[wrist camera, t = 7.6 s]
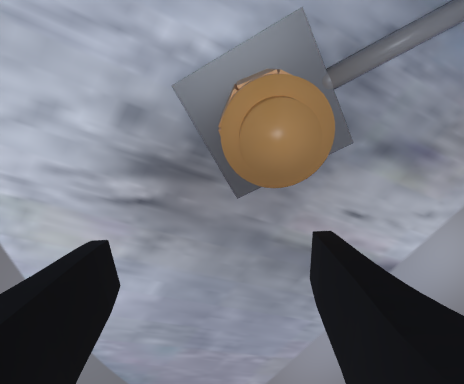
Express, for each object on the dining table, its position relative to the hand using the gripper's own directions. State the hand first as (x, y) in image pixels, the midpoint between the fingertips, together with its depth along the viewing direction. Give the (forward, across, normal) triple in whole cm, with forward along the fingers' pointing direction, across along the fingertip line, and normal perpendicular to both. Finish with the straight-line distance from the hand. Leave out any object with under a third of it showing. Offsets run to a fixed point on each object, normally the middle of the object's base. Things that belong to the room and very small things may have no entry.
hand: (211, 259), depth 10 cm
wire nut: (+9, -3, -4) cm, 10 cm away
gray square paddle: (+10, -8, -6) cm, 14 cm away
